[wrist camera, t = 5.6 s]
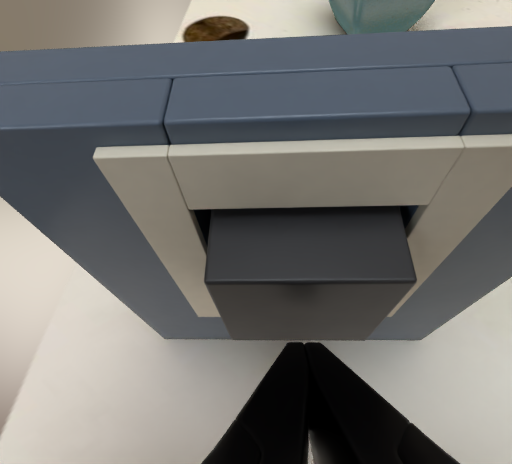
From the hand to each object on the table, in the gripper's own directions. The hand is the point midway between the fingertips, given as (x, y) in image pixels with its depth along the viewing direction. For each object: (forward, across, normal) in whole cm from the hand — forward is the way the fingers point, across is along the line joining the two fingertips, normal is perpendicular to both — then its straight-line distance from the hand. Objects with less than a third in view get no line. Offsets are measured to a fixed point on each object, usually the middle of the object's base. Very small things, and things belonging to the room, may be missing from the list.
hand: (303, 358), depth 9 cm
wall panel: (+10, 0, +4) cm, 11 cm away
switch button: (+3, 0, 0) cm, 3 cm away
